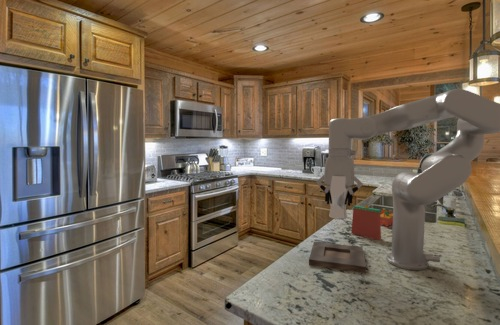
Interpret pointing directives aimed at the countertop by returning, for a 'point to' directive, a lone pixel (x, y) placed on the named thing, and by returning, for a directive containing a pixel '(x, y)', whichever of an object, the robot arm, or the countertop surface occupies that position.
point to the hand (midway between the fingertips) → (338, 204)
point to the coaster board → (338, 257)
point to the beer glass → (338, 197)
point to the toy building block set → (370, 221)
